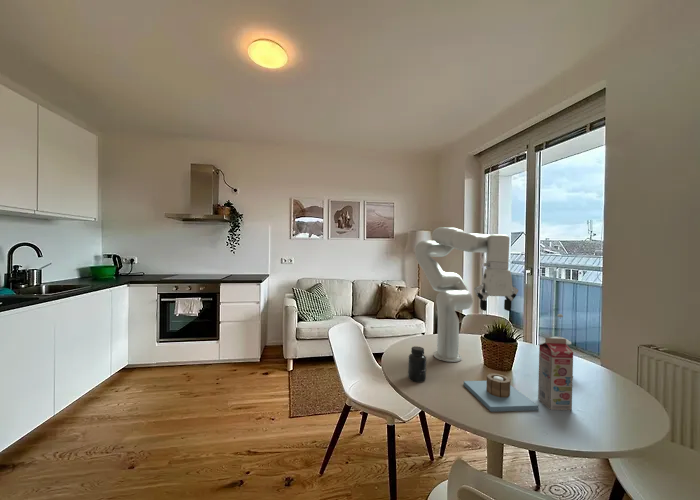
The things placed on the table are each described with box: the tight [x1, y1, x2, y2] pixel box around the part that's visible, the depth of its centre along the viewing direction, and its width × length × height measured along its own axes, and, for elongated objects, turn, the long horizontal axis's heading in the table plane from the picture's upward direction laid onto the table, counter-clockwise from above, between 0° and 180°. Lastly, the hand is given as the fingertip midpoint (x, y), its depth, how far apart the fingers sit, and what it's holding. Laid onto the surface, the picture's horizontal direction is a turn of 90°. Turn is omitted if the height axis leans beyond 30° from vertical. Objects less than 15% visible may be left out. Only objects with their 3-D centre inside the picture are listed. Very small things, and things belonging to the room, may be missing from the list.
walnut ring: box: [486, 373, 511, 397], centre depth 102 cm, size 7×7×5 cm
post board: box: [463, 376, 539, 412], centre depth 102 cm, size 18×16×6 cm
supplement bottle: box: [407, 345, 427, 383], centre depth 115 cm, size 7×7×12 cm
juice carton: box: [537, 337, 574, 411], centre depth 98 cm, size 7×7×22 cm
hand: (495, 310), depth 114 cm, fingers open, 9 cm apart
